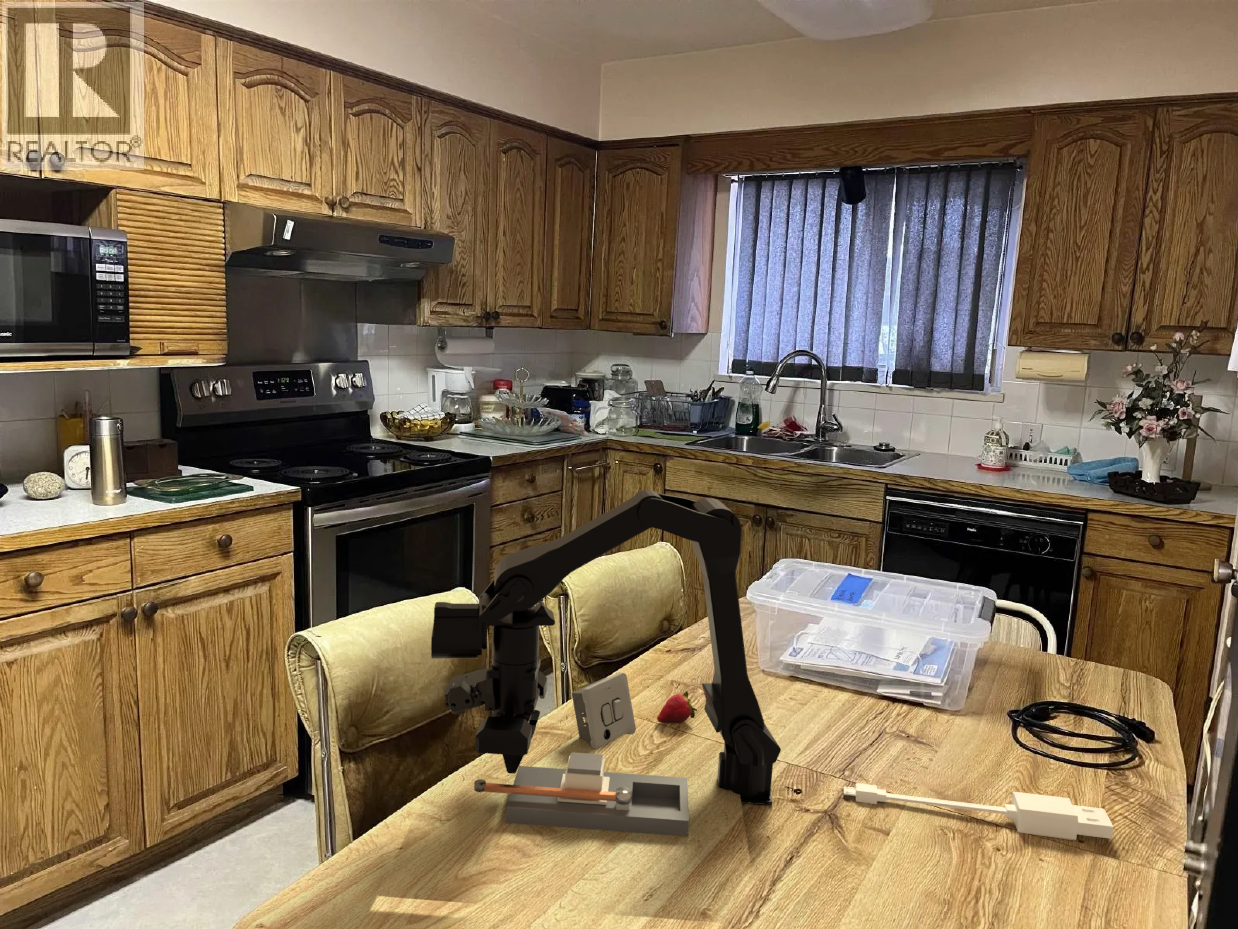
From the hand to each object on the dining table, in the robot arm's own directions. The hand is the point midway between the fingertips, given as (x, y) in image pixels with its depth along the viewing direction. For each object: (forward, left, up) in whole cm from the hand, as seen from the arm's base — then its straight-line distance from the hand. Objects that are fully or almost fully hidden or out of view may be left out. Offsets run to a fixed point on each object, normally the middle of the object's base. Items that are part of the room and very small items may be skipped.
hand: (511, 772), depth 117 cm
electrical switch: (-10, -18, -4) cm, 21 cm away
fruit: (-21, -25, -4) cm, 33 cm away
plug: (-9, +2, -3) cm, 10 cm away
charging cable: (-60, -4, -4) cm, 60 cm away
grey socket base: (-11, +2, -4) cm, 12 cm away
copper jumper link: (-6, +5, 0) cm, 8 cm away
